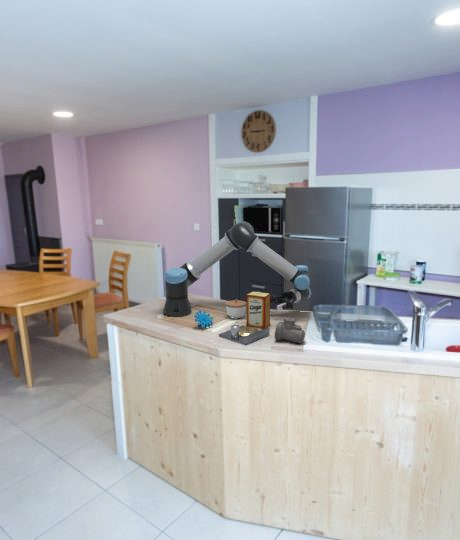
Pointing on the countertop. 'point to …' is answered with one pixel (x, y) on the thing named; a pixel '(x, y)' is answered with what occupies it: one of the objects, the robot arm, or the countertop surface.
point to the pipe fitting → (289, 331)
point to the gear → (203, 319)
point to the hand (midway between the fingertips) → (265, 306)
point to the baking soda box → (258, 310)
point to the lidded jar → (236, 308)
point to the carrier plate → (245, 334)
